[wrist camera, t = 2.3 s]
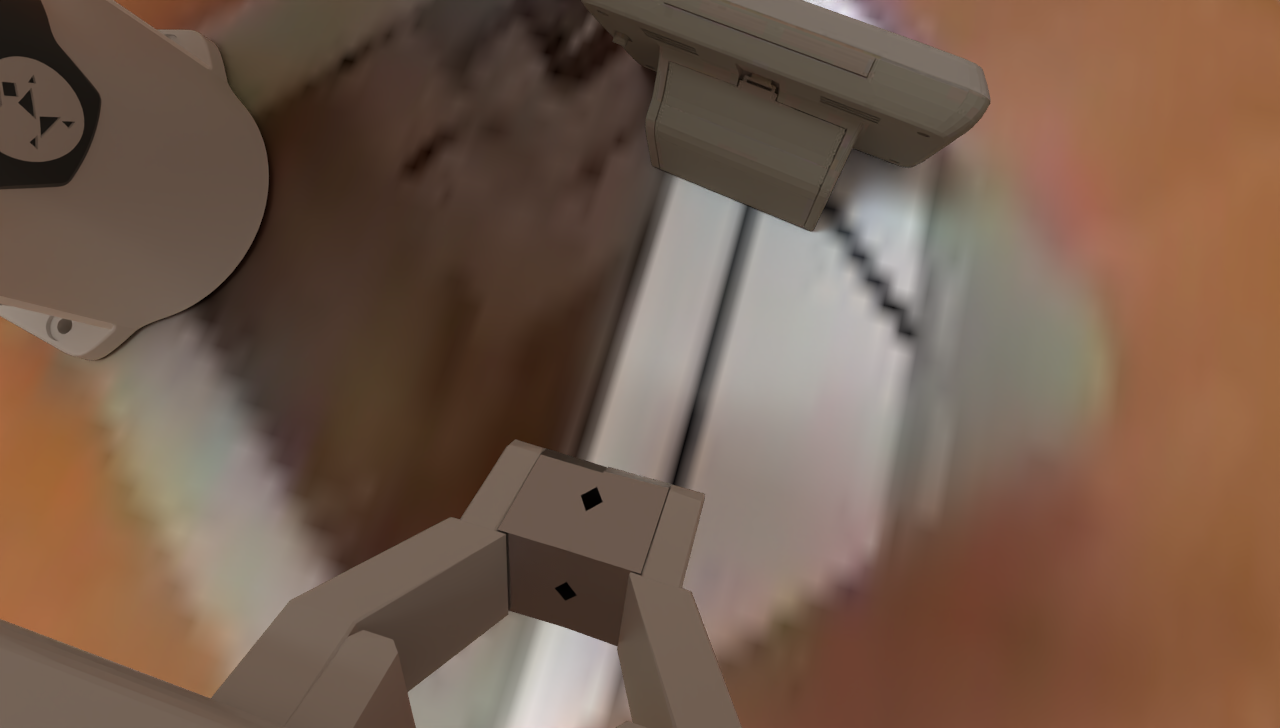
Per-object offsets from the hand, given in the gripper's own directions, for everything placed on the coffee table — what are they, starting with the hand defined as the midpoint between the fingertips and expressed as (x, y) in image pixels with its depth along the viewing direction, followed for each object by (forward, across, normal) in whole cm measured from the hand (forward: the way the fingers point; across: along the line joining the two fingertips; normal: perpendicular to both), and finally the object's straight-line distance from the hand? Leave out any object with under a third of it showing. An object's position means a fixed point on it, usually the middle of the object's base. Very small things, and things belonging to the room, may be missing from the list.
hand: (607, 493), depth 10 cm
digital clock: (+28, 0, +3) cm, 28 cm away
